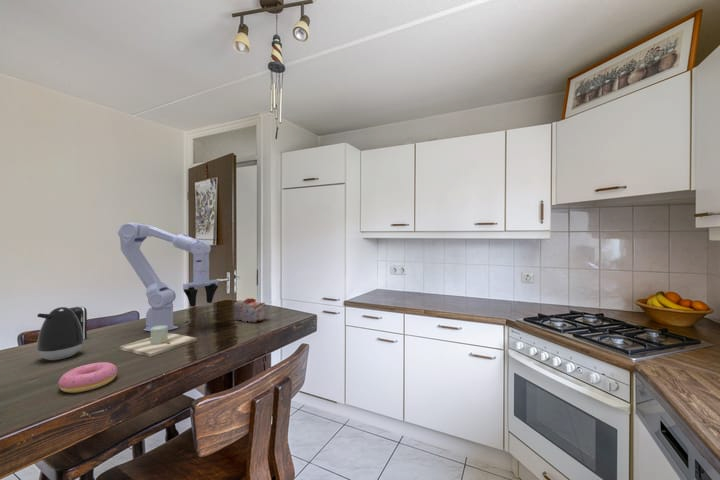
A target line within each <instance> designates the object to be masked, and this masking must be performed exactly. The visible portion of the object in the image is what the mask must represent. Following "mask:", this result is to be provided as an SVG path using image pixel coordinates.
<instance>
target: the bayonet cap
mask: <svg viewBox="0 0 720 480" xmlns="http://www.w3.org/2000/svg"><path fill="white" fill-rule="evenodd" d="M168 331H169V330H168V326H167V325H160V326H154V327H152V328H151V331H150V337H151V344H162V343H165V342H167V341H168V333H169V332H168Z"/></svg>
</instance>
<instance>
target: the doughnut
mask: <svg viewBox="0 0 720 480" xmlns="http://www.w3.org/2000/svg"><path fill="white" fill-rule="evenodd" d="M118 370H119V369H118V367H117V366H116V364H114V363H111V362H108V361H107V362H106V361H105V362H103V361H102V362H93V363H89V364H84V365H81V366H77V367H75V368H72V369H69V370H68V371H66V372H64V373H63V375H61V377H60V378H59V380H58V386H59V389H60V390H61V391H62V392H64V393H71V394H75V393H82V392H88V391H91V390H95V389H98V388H101V387H104V386H105V385H107V384H109V383H111V382H112V381H113V380H114V379H115V378H116V376H117V372H118Z"/></svg>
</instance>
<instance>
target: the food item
mask: <svg viewBox="0 0 720 480" xmlns="http://www.w3.org/2000/svg"><path fill="white" fill-rule="evenodd" d="M265 307H266V302H260V301H257V300H256V298H253V297H252V298H249V297H248V298H246V299H244V300H242V299H241V300H238V301H237V300H236V301H235V302H234V304H233V320H234V321H239V320H242V321H241V322H243V321H245V322H244V323H258V322H257V321H259V322H261V321H260V320H262V321H264V320H265V309H266V308H265ZM263 319H264V320H263ZM247 321H248V322H247Z"/></svg>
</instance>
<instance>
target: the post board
mask: <svg viewBox="0 0 720 480" xmlns="http://www.w3.org/2000/svg"><path fill="white" fill-rule="evenodd" d="M195 342H198V337H194V336H188V335H183V334H178V333H172V332H168V341H167V342H165V343H162V344H151V336H150V337H146V338H144V339H141V340H136V341H133V342H130V343H126V344H122V345H119V346H118V350H120V351H125V352H128V353H133V354H137V355H141V356H144V357H149V358H151V357H153V356H156V355H160V354H163V353H166V352H168V351H172V350H175V349H177V348H181V347H184V346H186V345H190V344H192V343H195Z"/></svg>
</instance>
